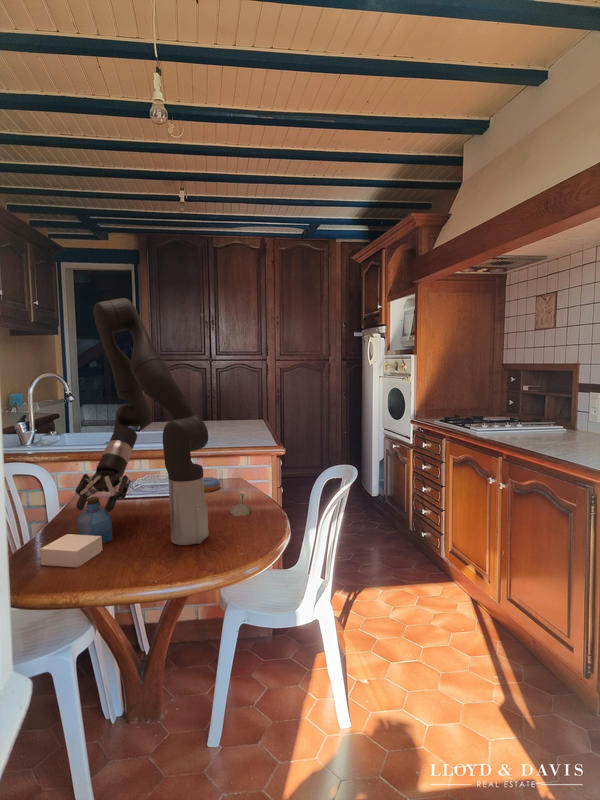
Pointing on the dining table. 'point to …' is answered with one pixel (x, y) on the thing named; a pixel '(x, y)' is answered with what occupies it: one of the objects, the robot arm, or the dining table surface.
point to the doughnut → (211, 484)
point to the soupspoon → (240, 508)
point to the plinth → (71, 550)
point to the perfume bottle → (95, 521)
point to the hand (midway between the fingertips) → (93, 509)
